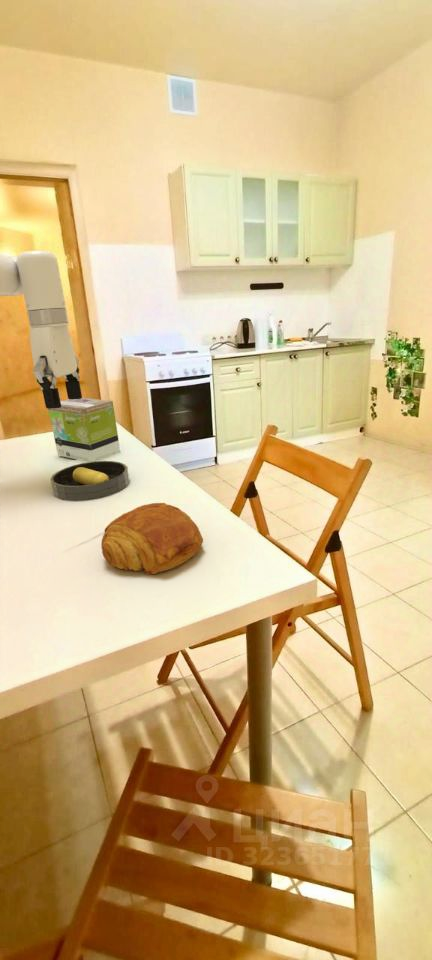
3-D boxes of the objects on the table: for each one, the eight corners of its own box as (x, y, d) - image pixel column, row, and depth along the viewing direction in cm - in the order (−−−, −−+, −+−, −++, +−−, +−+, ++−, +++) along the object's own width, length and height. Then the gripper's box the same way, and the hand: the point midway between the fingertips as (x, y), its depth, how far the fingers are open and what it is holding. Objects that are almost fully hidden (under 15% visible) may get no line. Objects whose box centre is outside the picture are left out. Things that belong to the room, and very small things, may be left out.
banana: (71, 483, 100) (68, 468, 99) (84, 478, 102) (82, 463, 101) (100, 493, 93) (98, 477, 92) (114, 488, 95) (112, 472, 94)
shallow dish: (38, 492, 97) (35, 477, 96) (100, 470, 109) (98, 457, 107) (81, 509, 87) (78, 492, 86) (145, 483, 99) (143, 468, 97)
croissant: (94, 565, 71) (78, 522, 68) (172, 520, 79) (161, 480, 76) (142, 602, 60) (126, 553, 57) (226, 546, 69) (216, 500, 65)
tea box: (56, 457, 122) (45, 403, 117) (85, 447, 130) (76, 396, 124) (93, 464, 114) (83, 406, 109) (122, 453, 121) (114, 399, 116)
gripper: (52, 319, 99) (67, 396, 105) (6, 322, 83) (27, 412, 89) (84, 317, 98) (97, 395, 104) (43, 319, 82) (61, 411, 88)
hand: (65, 403), depth 97 cm, fingers open, 9 cm apart
